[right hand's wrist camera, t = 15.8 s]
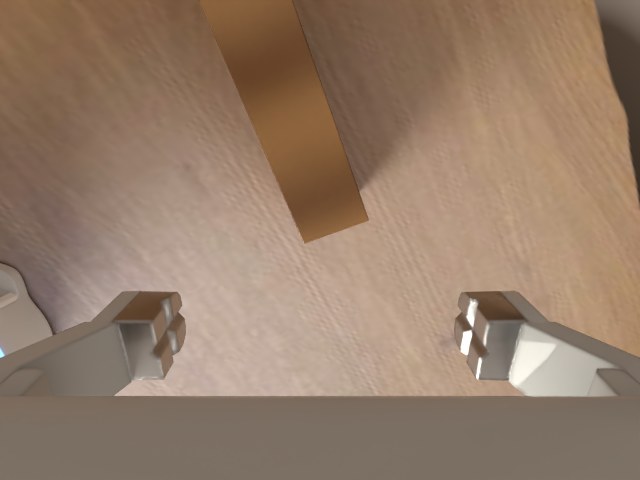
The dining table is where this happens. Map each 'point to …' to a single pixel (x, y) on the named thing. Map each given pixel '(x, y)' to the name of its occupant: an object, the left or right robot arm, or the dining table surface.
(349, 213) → the bar
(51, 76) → the dining table surface
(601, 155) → the dining table surface
